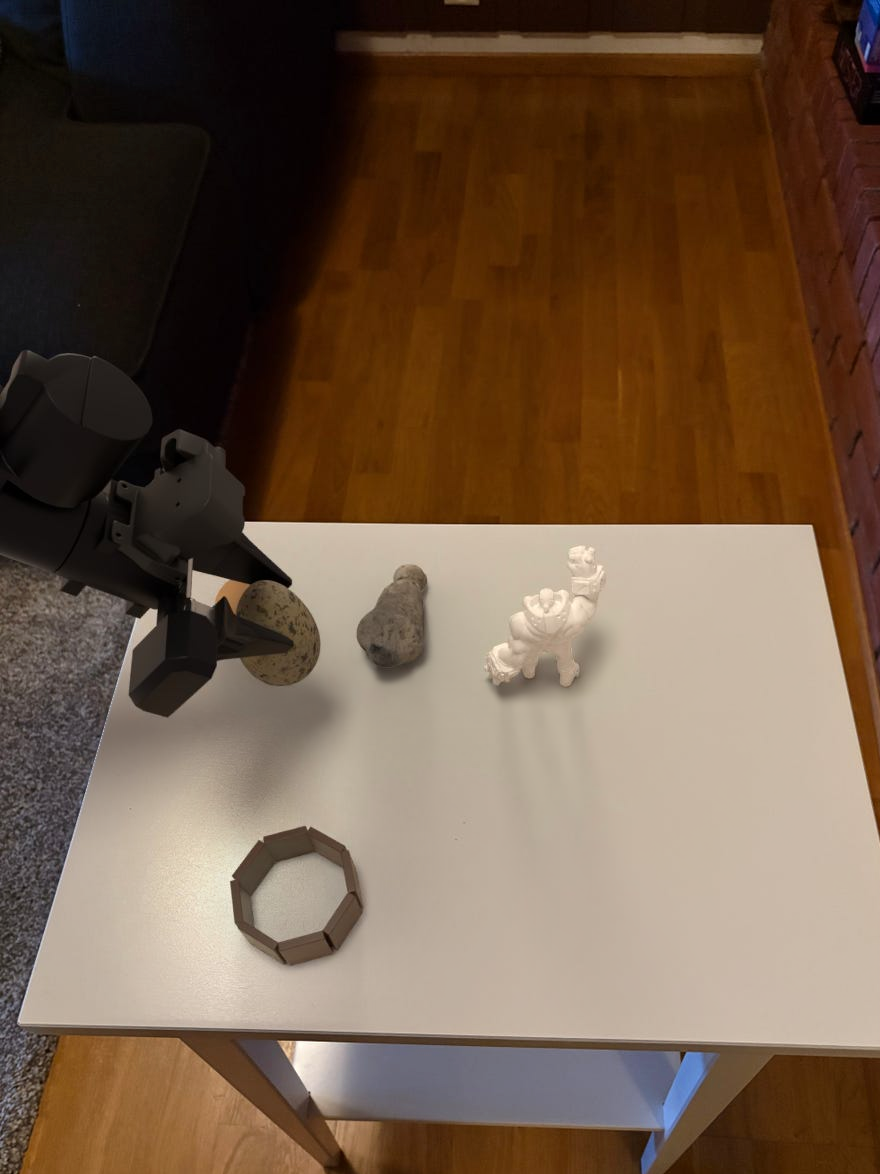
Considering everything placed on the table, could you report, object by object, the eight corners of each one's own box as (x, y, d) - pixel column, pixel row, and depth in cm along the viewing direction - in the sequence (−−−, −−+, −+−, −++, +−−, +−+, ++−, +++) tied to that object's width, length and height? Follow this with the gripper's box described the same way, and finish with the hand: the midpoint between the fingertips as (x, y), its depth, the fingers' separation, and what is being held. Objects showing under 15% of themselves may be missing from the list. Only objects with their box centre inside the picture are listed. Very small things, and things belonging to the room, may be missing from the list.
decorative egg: (234, 687, 68) (197, 606, 60) (276, 628, 71) (246, 544, 63) (302, 714, 66) (274, 635, 58) (341, 653, 69) (320, 570, 61)
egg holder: (251, 976, 62) (238, 962, 59) (238, 864, 67) (225, 846, 64) (370, 943, 63) (363, 927, 60) (349, 835, 68) (341, 816, 65)
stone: (402, 581, 83) (331, 569, 77) (440, 555, 80) (370, 540, 74) (424, 682, 80) (352, 677, 74) (465, 659, 76) (393, 652, 71)
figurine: (581, 625, 78) (591, 533, 69) (615, 667, 76) (630, 577, 66) (479, 676, 76) (474, 587, 66) (511, 721, 73) (510, 636, 63)
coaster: (219, 637, 79) (218, 634, 79) (213, 582, 83) (211, 579, 82) (291, 620, 80) (290, 617, 79) (282, 567, 83) (281, 564, 83)
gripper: (119, 575, 44) (370, 670, 54) (146, 341, 55) (351, 455, 64) (24, 683, 50) (266, 751, 60) (65, 452, 61) (264, 542, 70)
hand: (289, 616), depth 63 cm, fingers closed on decorative egg, 5 cm apart
